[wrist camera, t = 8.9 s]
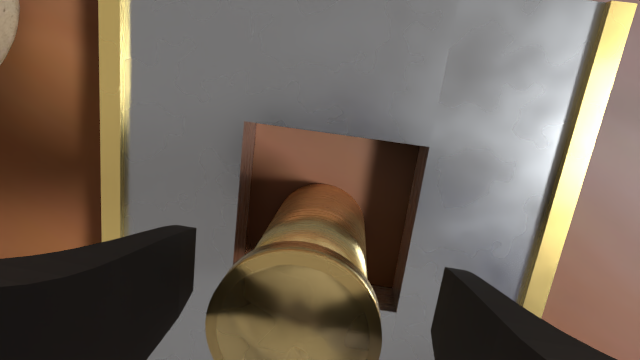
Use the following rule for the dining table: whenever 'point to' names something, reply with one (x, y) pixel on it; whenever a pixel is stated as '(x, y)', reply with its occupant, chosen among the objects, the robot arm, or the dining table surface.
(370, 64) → the jig
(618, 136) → the dining table surface
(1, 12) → the ceramic mug
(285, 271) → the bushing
